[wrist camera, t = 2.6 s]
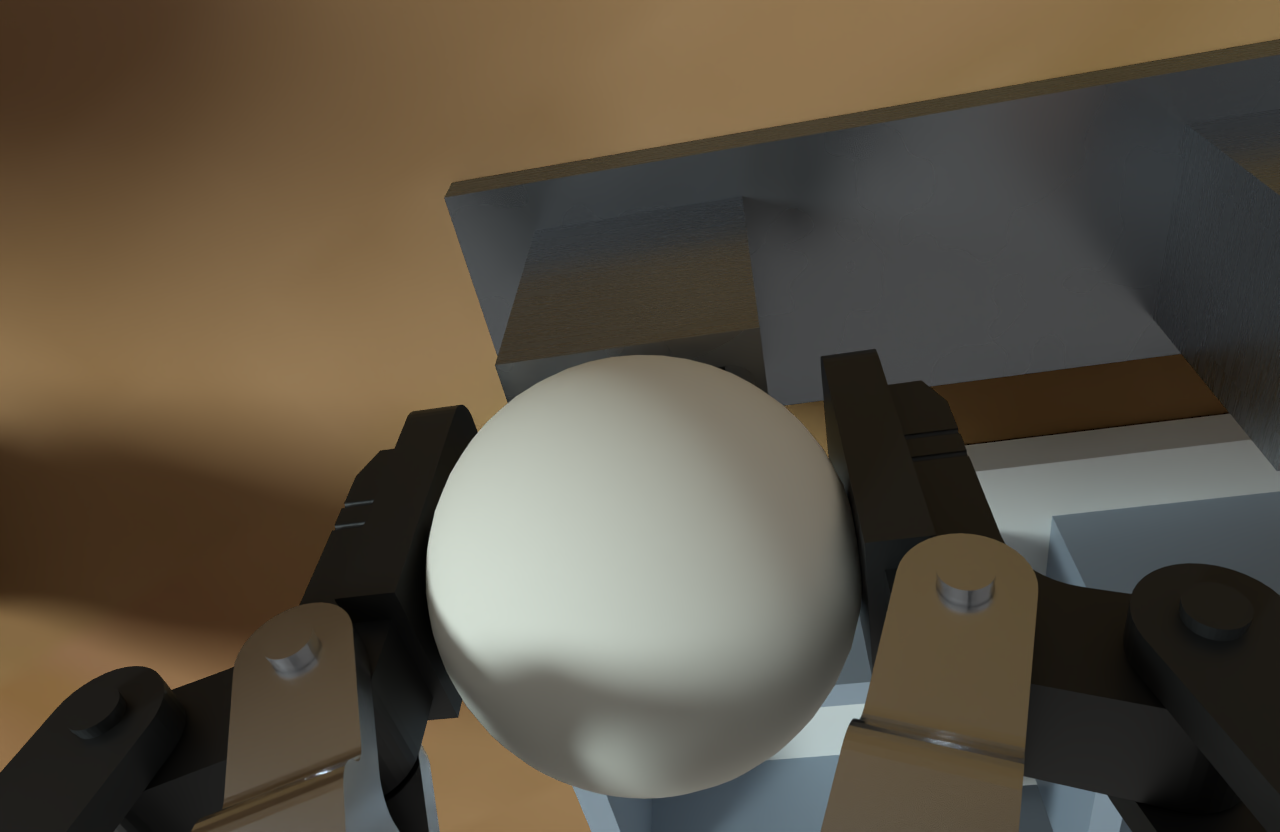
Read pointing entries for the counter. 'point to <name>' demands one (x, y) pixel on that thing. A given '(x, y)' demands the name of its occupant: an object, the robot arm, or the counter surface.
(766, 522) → the cream ball
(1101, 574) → the rack
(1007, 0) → the counter surface
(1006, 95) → the post stand
